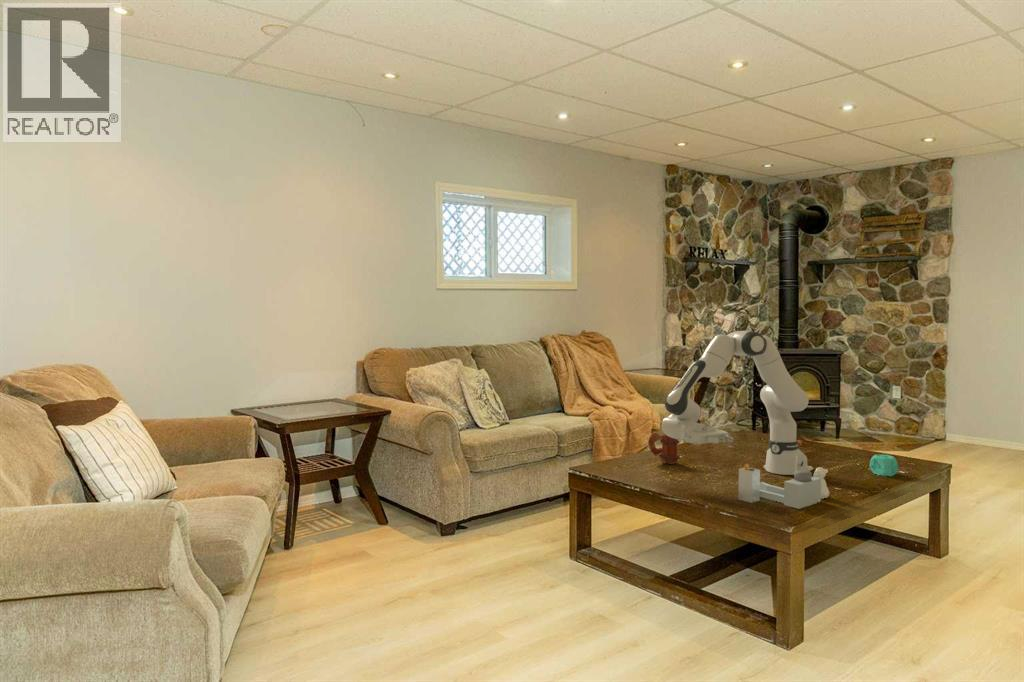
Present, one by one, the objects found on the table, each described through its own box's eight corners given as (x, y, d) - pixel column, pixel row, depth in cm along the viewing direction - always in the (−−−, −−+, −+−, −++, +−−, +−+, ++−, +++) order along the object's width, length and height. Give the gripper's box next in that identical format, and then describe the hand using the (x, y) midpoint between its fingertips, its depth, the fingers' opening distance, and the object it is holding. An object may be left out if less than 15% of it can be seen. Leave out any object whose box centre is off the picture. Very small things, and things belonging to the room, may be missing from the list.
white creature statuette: (816, 492, 272) (817, 462, 271) (836, 497, 264) (836, 467, 263) (800, 495, 267) (801, 465, 266) (820, 501, 259) (820, 470, 259)
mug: (678, 461, 325) (678, 430, 325) (681, 465, 317) (681, 434, 317) (647, 461, 327) (647, 430, 326) (649, 465, 319) (649, 433, 318)
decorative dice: (885, 477, 294) (885, 459, 293) (869, 473, 301) (869, 455, 301) (898, 475, 297) (898, 457, 296) (882, 471, 304) (882, 453, 304)
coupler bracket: (762, 487, 279) (763, 458, 278) (820, 501, 259) (821, 470, 258) (740, 493, 270) (741, 464, 270) (798, 508, 250) (799, 476, 250)
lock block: (746, 497, 266) (746, 462, 265) (759, 500, 261) (760, 465, 260) (738, 499, 263) (738, 464, 262) (751, 503, 258) (752, 467, 257)
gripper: (681, 427, 274) (711, 434, 263) (711, 424, 287) (740, 431, 277) (680, 442, 274) (709, 450, 264) (709, 439, 288) (738, 446, 277)
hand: (725, 440), depth 270 cm, fingers open, 8 cm apart
